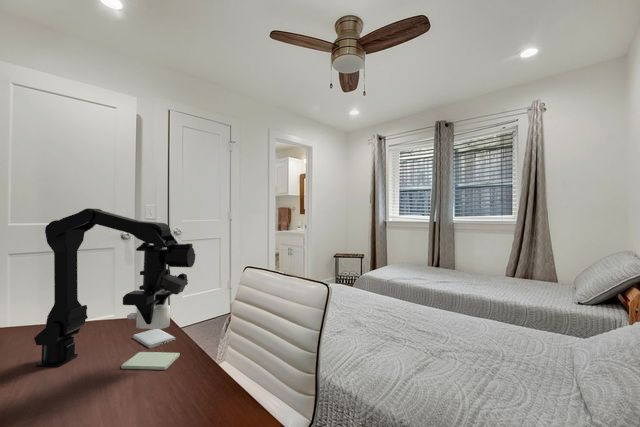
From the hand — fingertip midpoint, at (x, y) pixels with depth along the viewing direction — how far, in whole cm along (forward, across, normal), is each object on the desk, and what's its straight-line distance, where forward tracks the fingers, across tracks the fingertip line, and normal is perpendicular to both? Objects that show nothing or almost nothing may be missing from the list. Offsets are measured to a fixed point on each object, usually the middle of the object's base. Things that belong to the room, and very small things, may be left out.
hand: (153, 321), depth 83 cm
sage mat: (+12, 0, 0) cm, 12 cm away
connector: (+1, 0, +1) cm, 2 cm away
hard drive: (+12, +15, +8) cm, 21 cm away
